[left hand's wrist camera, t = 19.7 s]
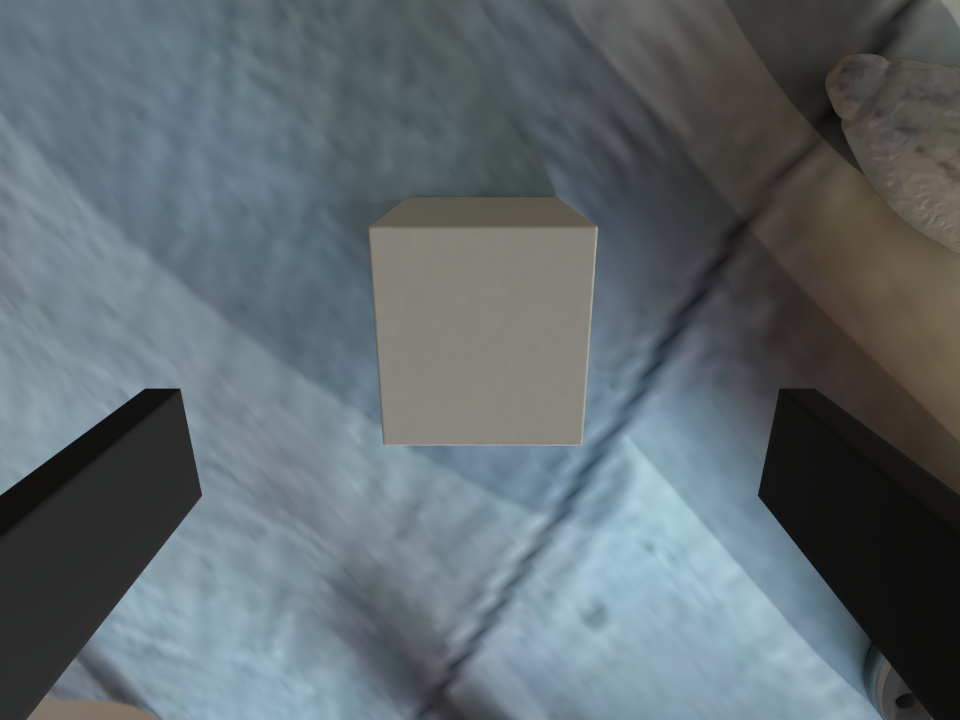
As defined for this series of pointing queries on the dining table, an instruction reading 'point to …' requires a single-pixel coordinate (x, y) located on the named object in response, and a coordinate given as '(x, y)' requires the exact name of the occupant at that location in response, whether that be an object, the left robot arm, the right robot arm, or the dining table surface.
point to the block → (482, 320)
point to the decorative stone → (905, 136)
